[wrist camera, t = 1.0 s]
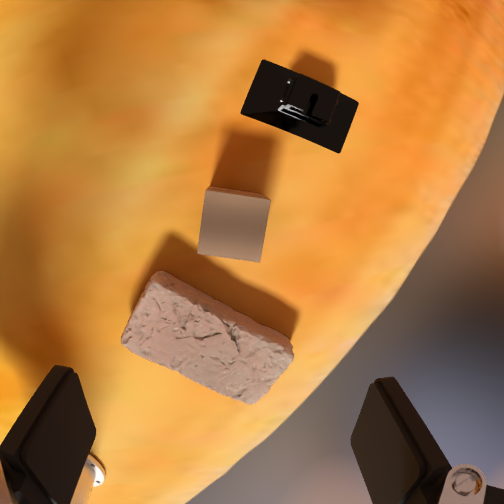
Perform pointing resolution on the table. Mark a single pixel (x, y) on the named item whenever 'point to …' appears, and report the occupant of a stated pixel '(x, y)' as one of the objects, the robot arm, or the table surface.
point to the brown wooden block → (233, 224)
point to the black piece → (300, 106)
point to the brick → (205, 340)
